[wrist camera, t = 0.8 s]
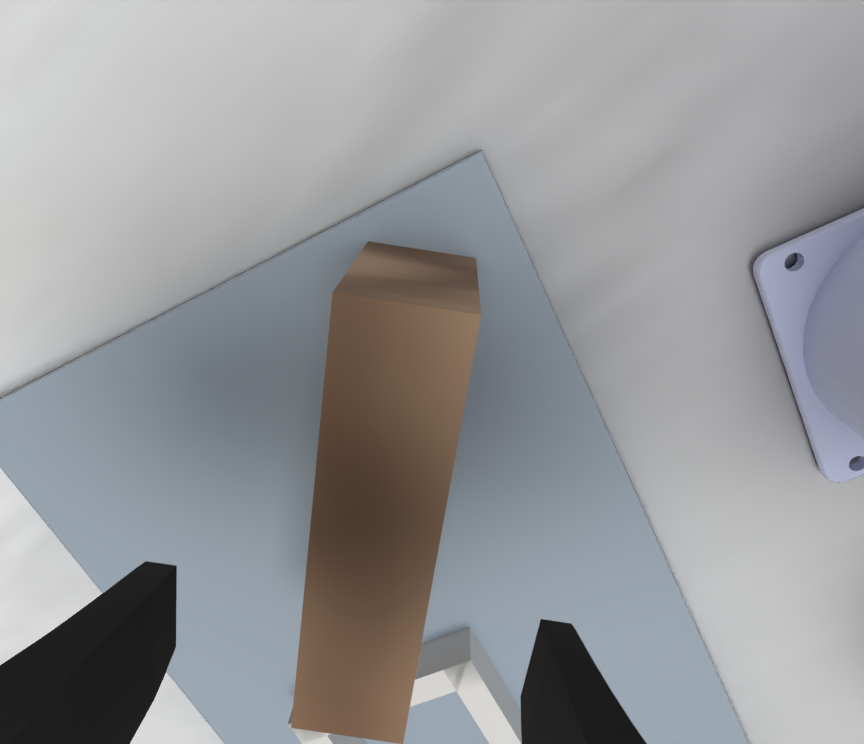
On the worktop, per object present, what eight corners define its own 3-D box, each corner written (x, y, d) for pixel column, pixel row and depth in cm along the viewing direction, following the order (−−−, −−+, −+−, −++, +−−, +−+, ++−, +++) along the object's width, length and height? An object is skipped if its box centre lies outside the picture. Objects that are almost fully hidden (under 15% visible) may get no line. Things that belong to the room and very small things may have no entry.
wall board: (481, 149, 18) (484, 156, 16) (789, 833, 28) (819, 900, 25) (-17, 407, 22) (-74, 442, 20) (403, 936, 31) (399, 1003, 29)
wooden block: (475, 257, 19) (481, 314, 13) (416, 602, 23) (403, 744, 18) (367, 241, 18) (331, 292, 13) (328, 589, 23) (290, 727, 18)
